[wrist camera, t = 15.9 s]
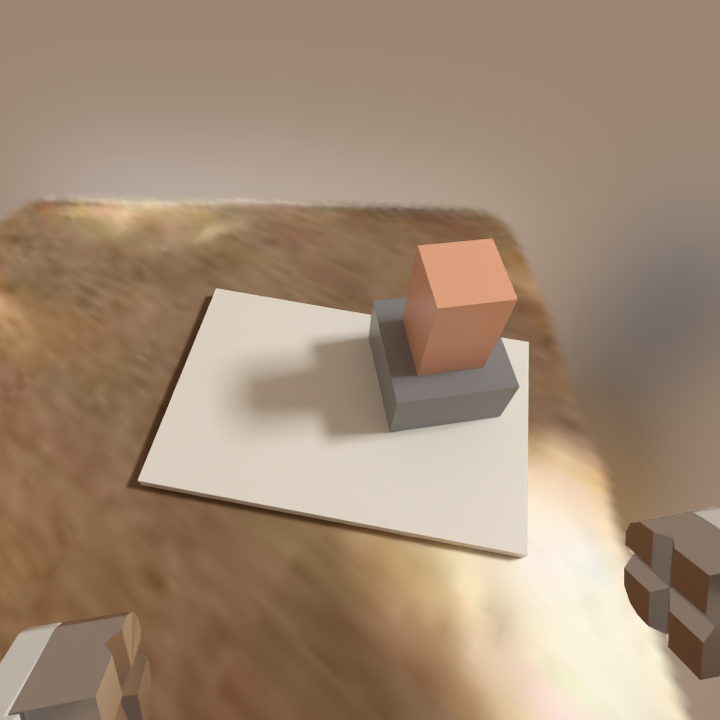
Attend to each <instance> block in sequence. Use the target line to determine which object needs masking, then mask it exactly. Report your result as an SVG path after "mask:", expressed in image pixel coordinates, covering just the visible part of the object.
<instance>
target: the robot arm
mask: <svg viewBox="0 0 720 720" xmlns="http://www.w3.org/2000/svg"><path fill="white" fill-rule="evenodd" d="M625 545H626V546H627V548H628V549H629V550H630V551H631V553H632V554H633V556H632V557H631V559H630V560H629V562H628V563H627V565H626V566H625V568H624V586H625V589H626V592H627V595H628V598H629V601H630V603H631V605H632V606H633V608H634V610H635V611H636V613H637V614H638V616H639V617H640V618H641V619H642V620H643V621H644V622H645V623H646V624H647V625H648V626H650V627H652V628H654V629H656V630H658V631H661V632H663V633H665V634H667V643H668V647H669V648H670V649H671V650H672V651H673V652H674V653H675V654H676V655H677V656H678V658H680V660H681V661H682V662H683V663H684V664H685V665H686V666H687V667H688V668H689V669H690V670H691V671H692V672H693V673H694V674H695V675H696V676H697V677H698V678H699V679H700V680H703V679H708V678H713V677H718V676H720V508H715V507H705V508H701V509H696V510H691V511H687V512H684V513H682V514H676V515H671V516H665V517H660V518H655V519H649V520H644V521H639V522H634V523H630V525H629V527H628V529H627V531H626V543H625ZM141 635H142V633H141V629H140V625H139V621H138V617H137V615H136V614H134V613H133V612H132V611H131V612H124V613H118V614H112V615H105V616H99V617H92V618H86V619H80V620H73V621H67V622H63V623H55V624H49V625H44V626H38V627H32V628H28V629H26V630H24V631H23V632H21V633H19V635H18V636H17V637H16V639H15V640H14V642H13V644H12V645H11V647H10V648H9V650H8V651H7V653H6V655H5V656H4V658H3V659H2V661H1V662H0V720H148V718H149V714H150V704H151V691H152V688H151V675H150V669H149V664H148V659H147V658H146V657H144V656H143V655H142V654H140V653H139V652H138V651H137V648H138V645H139V642H140V639H141Z"/></svg>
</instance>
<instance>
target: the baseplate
mask: <svg viewBox="0 0 720 720" xmlns="http://www.w3.org/2000/svg"><path fill="white" fill-rule="evenodd" d="M370 321H371V315H367V314H361V313H356V312H350V311H344V310H338V309H332V308H327V307H321V306H315V305H309V304H304V303H298V302H292V301H286V300H280V299H275V298H269V297H263V296H257V295H251V294H246V293H240V292H234V291H228V290H222V289H217V288H216V290H215V293H214V295H213V298H212V300H211V302H210V305H209V307H208V310H207V312H206V315H205V317H204V320H203V322H202V324H201V327H200V329H199V332H198V334H197V337H196V339H195V342H194V344H193V346H192V349H191V351H190V354H189V356H188V359H187V361H186V364H185V366H184V368H183V371H182V373H181V376H180V378H179V381H178V383H177V386H176V388H175V390H174V393H173V395H172V398H171V400H170V403H169V405H168V408H167V410H166V412H165V415H164V417H163V420H162V422H161V425H160V427H159V429H158V432H157V434H156V437H155V439H154V442H153V444H152V447H151V449H150V451H149V454H148V456H147V459H146V461H145V464H144V466H143V469H142V471H141V473H140V476H139V478H138V482H139V483H140V484H141V485H144V486H149V487H154V488H160V489H165V490H170V491H175V492H180V493H186V494H191V495H196V496H201V497H207V498H212V499H217V500H222V501H227V502H233V503H238V504H243V505H248V506H254V507H259V508H264V509H269V510H275V511H280V512H285V513H290V514H295V515H301V516H306V517H311V518H316V519H322V520H327V521H332V522H337V523H342V524H348V525H353V526H358V527H363V528H369V529H374V530H379V531H384V532H390V533H395V534H400V535H405V536H410V537H416V538H421V539H426V540H431V541H437V542H442V543H447V544H452V545H457V546H463V547H468V548H473V549H478V550H484V551H489V552H494V553H499V554H504V555H510V556H515V557H520V558H523V557H525V556H527V506H528V363H529V342H524V341H518V340H512V339H506V338H501V339H502V341H503V344H504V347H505V349H506V352H507V355H508V357H509V360H510V363H511V365H512V368H513V371H514V373H515V376H516V378H517V381H518V384H519V386H520V387H519V388H518V390H517V391H516V393H515V395H514V396H513V398H512V399H511V401H510V402H509V404H508V405H507V407H506V408H505V410H504V411H503V413H502V414H501V416H500V417H494V418H487V419H480V420H473V421H466V422H459V423H453V424H446V425H439V426H432V427H425V428H418V429H411V430H404V431H397V432H390V431H389V426H388V422H387V417H386V413H385V408H384V404H383V399H382V395H381V390H380V386H379V381H378V377H377V372H376V368H375V363H374V359H373V354H372V350H371V345H370V341H369V329H370Z"/></svg>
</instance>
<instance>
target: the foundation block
mask: <svg viewBox="0 0 720 720" xmlns="http://www.w3.org/2000/svg"><path fill="white" fill-rule="evenodd" d="M406 301H407V297H405V298H396V299H387V300H378V301H373V304H372V313H371V321H370V329H369V341H370V345H371V350H372V354H373V359H374V363H375V368H376V372H377V377H378V381H379V386H380V390H381V395H382V399H383V404H384V408H385V413H386V417H387V422H388V426H389V431H390V432H397V431H404V430H411V429H418V428H425V427H432V426H439V425H446V424H453V423H459V422H466V421H473V420H480V419H487V418H494V417H500V416H501V414H502V413H503V411H504V410H505V408H506V407H507V405H508V404H509V402H510V401H511V399H512V398H513V396H514V395H515V393H516V391H517V390H518V388H519V387H520V386H519V384H518V381H517V378H516V376H515V373H514V371H513V368H512V365H511V363H510V360H509V357H508V355H507V352H506V349H505V347H504V344H503V341H502V339H501V336H499V338H498V340H497V342H496V344H495V346H494V348H493V350H492V352H491V354H490V356H489V358H488V360H487V362H486V364H485V366H484V367H481V368H473V369H465V370H458V371H450V372H443V373H435V374H427V375H420V376H418V375H417V371H416V368H415V364H414V360H413V357H412V353H411V349H410V345H409V342H408V338H407V334H406V330H405V327H404V323H403V315H404V310H405V305H406Z"/></svg>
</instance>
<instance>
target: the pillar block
mask: <svg viewBox="0 0 720 720" xmlns="http://www.w3.org/2000/svg"><path fill="white" fill-rule="evenodd" d="M517 300H518V299H517V296H516V294H515V291H514V289H513V287H512V284H511V282H510V279H509V277H508V275H507V272H506V270H505V267H504V265H503V262H502V260H501V258H500V255H499V253H498V250H497V248H496V246H495V243H494V241H493V239H483V240H472V241H462V242H452V243H441V244H431V245H421V246H418V247H417V252H416V257H415V262H414V267H413V272H412V276H411V281H410V286H409V291H408V296H407V301H406V305H405V310H404V315H403V323H404V327H405V330H406V334H407V338H408V342H409V345H410V349H411V353H412V357H413V360H414V364H415V368H416V371H417V375H418V376H420V375H427V374H435V373H443V372H450V371H458V370H465V369H473V368H481V367H484V366H485V364H486V362H487V360H488V358H489V356H490V354H491V352H492V350H493V348H494V346H495V344H496V342H497V340H498V338H499V336H500V334H501V332H502V330H503V328H504V326H505V324H506V322H507V320H508V318H509V316H510V314H511V312H512V310H513V308H514V306H515V304H516V302H517Z"/></svg>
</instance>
